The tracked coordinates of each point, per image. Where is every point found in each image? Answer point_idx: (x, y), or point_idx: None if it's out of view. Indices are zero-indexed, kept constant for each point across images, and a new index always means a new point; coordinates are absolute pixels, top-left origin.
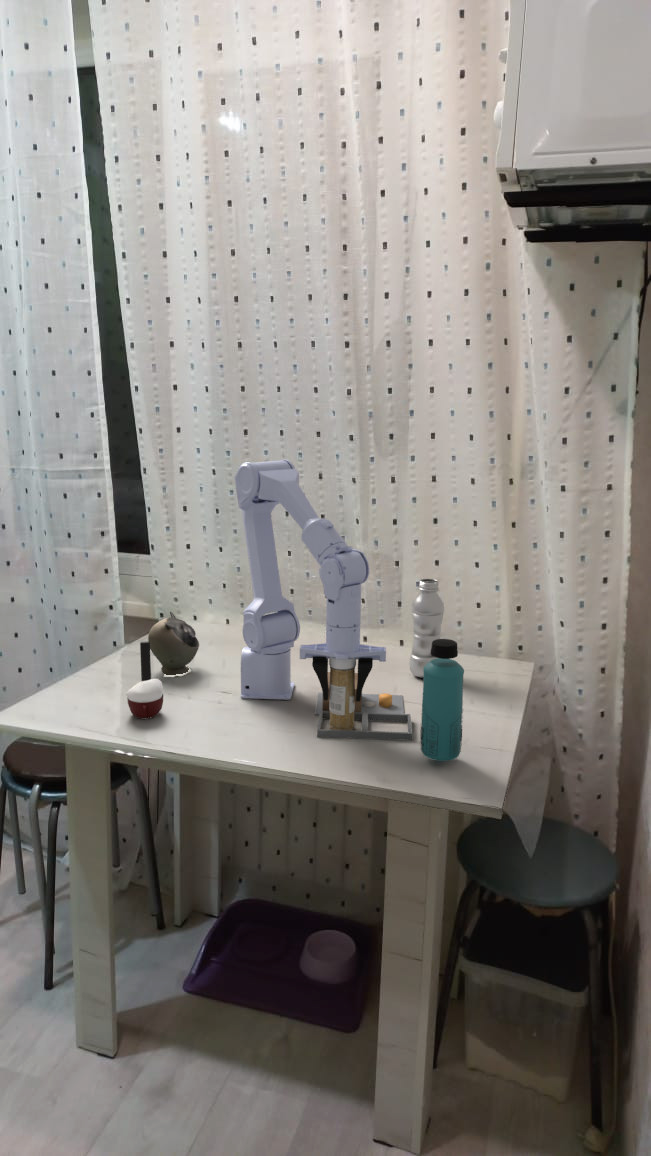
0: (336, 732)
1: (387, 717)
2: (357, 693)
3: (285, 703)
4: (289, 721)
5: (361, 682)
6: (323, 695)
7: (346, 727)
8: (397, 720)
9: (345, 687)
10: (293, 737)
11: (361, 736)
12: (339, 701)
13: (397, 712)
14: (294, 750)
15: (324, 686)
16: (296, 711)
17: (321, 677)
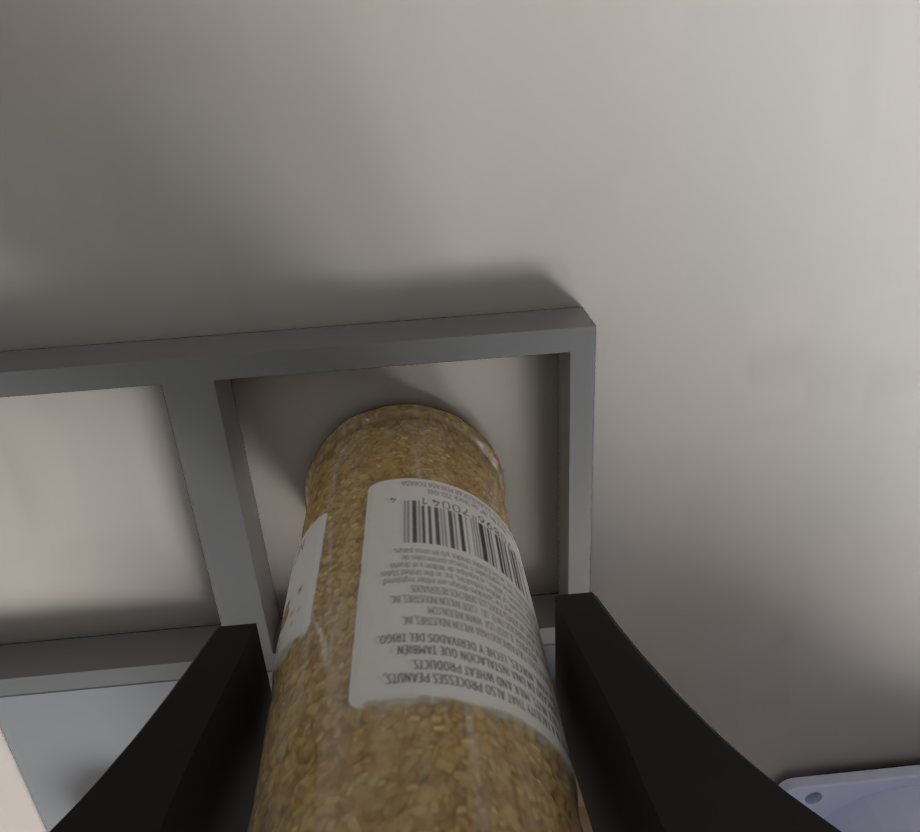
0: (427, 334)
1: (88, 655)
2: (215, 682)
3: (805, 739)
4: (789, 519)
5: (110, 809)
6: (614, 620)
7: (357, 434)
8: (21, 647)
9: (351, 703)
10: (768, 272)
11: (217, 340)
12: (424, 562)
13: (55, 745)
14: (766, 16)
15: (637, 695)
16: (737, 658)
17: (733, 794)
